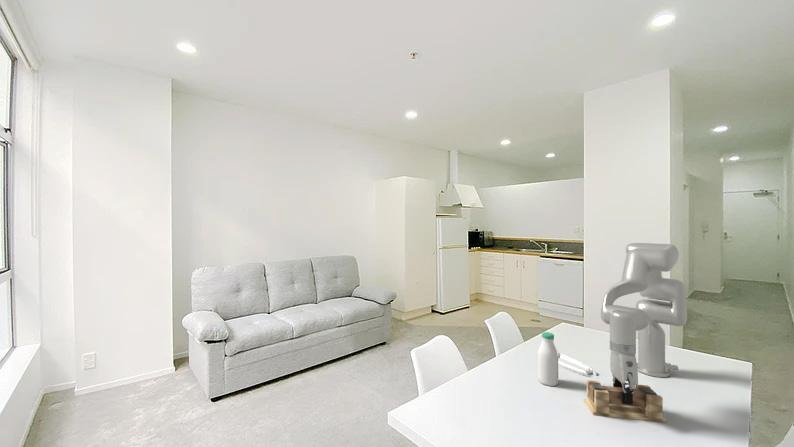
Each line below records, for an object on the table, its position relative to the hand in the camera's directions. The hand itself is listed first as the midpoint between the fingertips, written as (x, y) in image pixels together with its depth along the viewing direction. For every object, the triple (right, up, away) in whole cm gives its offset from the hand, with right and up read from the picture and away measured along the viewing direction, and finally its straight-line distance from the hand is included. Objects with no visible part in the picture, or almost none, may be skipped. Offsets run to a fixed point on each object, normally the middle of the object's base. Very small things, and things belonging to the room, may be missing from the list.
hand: (622, 398), depth 115 cm
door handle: (+1, -5, +38) cm, 39 cm away
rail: (0, -1, 0) cm, 1 cm away
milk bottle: (-16, -5, +21) cm, 27 cm away
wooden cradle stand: (0, -4, 0) cm, 4 cm away
